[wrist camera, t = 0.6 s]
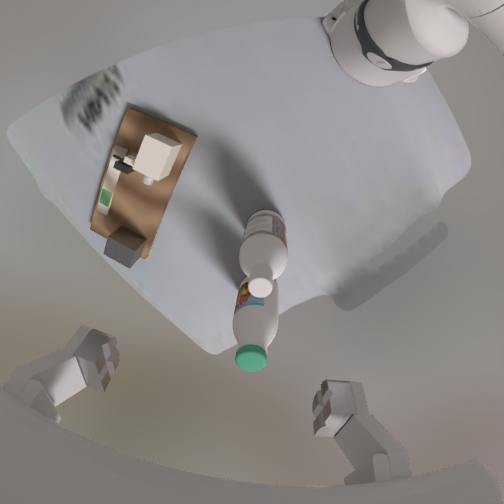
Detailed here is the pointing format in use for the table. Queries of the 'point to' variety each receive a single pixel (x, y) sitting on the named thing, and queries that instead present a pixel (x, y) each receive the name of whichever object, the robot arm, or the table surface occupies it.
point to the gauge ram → (154, 157)
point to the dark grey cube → (124, 246)
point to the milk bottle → (254, 326)
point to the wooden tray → (137, 181)
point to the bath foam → (263, 251)
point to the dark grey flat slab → (123, 166)
